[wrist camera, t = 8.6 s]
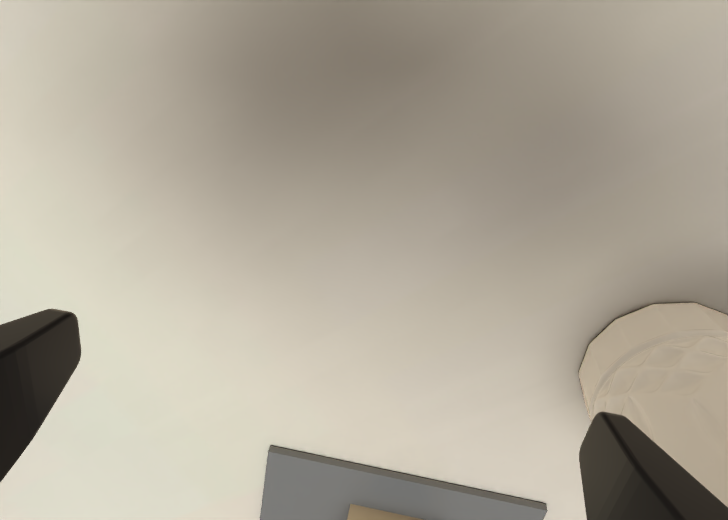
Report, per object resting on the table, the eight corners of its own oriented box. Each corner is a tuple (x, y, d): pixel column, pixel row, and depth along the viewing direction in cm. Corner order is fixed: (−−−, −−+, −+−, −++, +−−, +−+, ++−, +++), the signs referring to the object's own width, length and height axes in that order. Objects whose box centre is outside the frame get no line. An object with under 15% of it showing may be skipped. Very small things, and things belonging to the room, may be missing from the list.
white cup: (769, 422, 23) (985, 692, 14) (580, 452, 25) (664, 706, 16) (762, 265, 20) (1030, 481, 11) (547, 312, 22) (628, 530, 13)
